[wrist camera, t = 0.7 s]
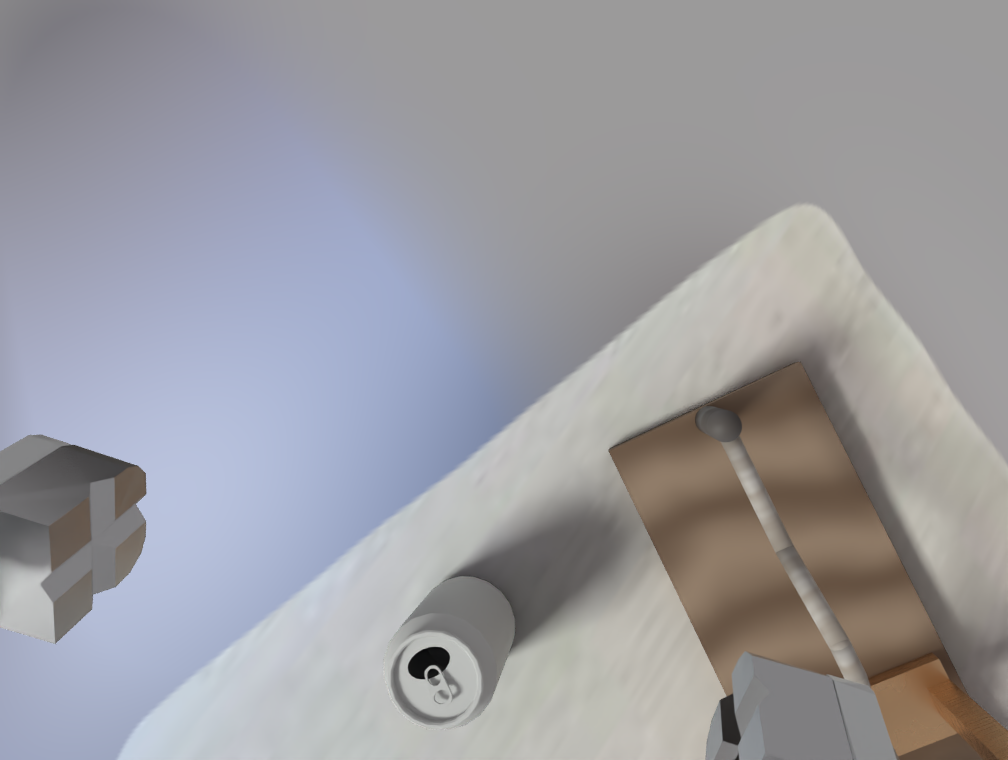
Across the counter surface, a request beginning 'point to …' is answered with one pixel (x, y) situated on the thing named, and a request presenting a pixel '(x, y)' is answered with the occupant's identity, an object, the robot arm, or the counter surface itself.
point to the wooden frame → (934, 710)
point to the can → (450, 654)
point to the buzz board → (779, 540)
